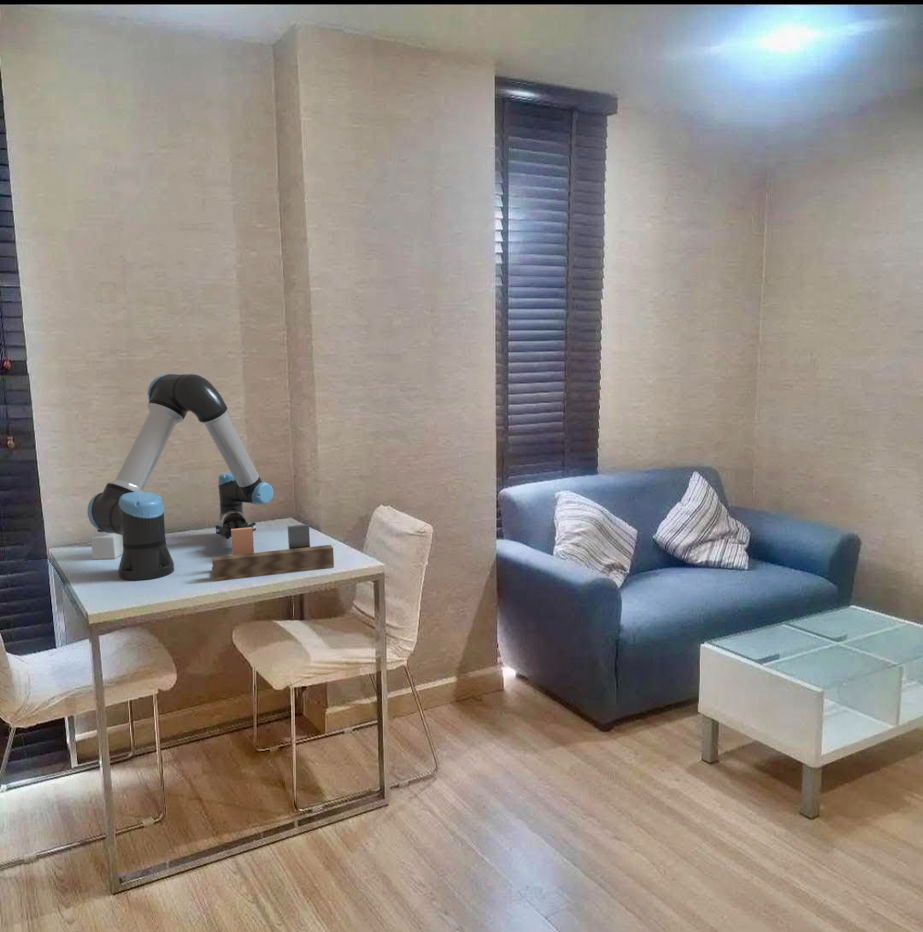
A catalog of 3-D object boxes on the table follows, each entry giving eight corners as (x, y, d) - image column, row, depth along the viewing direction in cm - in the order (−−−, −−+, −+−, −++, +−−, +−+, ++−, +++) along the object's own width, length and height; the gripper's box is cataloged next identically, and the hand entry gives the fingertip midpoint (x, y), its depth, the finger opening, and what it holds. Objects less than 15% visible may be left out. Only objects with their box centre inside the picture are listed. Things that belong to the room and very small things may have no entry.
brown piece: (214, 581, 218) (212, 560, 217) (212, 570, 229) (210, 550, 228) (334, 567, 230) (333, 547, 229) (326, 557, 241) (325, 538, 240)
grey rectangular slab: (290, 563, 230) (288, 527, 228) (289, 562, 232) (287, 526, 230) (310, 561, 232) (308, 525, 231) (309, 559, 234) (307, 524, 232)
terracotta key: (233, 567, 228) (231, 530, 226) (233, 565, 230) (230, 529, 228) (254, 564, 230) (252, 528, 228) (254, 563, 232) (251, 527, 230)
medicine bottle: (124, 553, 251) (121, 517, 250) (115, 559, 244) (112, 521, 242) (102, 553, 251) (99, 517, 249) (92, 559, 244) (89, 522, 242)
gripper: (254, 532, 263) (262, 548, 241) (214, 536, 258) (218, 553, 236) (253, 510, 262) (261, 525, 240) (213, 514, 257) (217, 529, 235)
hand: (239, 538), depth 238 cm, fingers closed
